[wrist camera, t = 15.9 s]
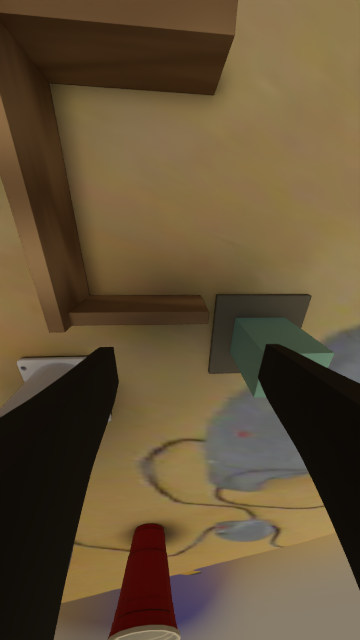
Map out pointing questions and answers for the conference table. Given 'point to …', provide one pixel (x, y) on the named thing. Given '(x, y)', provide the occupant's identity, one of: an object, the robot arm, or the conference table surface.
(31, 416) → the robot arm
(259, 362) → the block
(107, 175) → the conference table surface
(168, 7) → the wooden fixture
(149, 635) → the plastic cup
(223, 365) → the mat
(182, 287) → the conference table surface
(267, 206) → the conference table surface
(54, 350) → the conference table surface
